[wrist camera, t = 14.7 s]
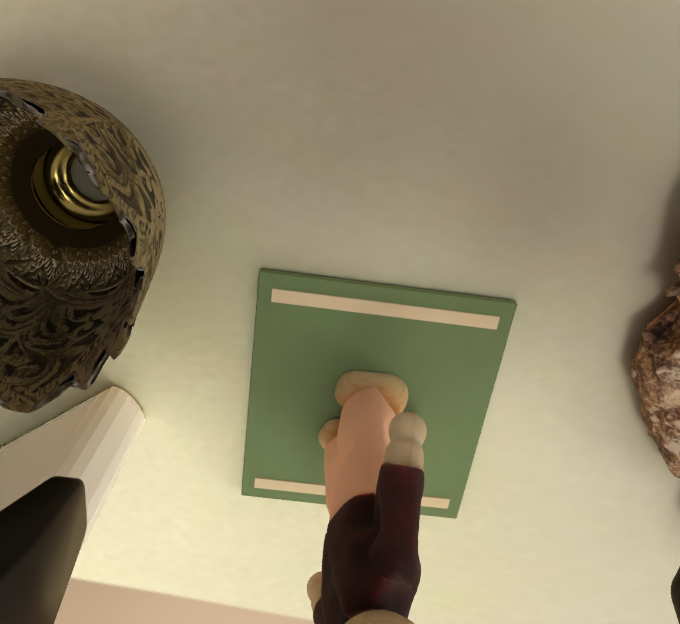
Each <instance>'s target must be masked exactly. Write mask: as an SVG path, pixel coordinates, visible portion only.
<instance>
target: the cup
mask: <svg viewBox="0 0 680 624" xmlns="http://www.w3.org/2000/svg"><path fill="white" fill-rule="evenodd" d="M75 156H76V157H77V158H78V160H79V161H80V163H81V164H82V165H83V166H84V168H85V170H86V172H87V174H88V175H89V177H90V179H91V180H92V182H93V183H94V185H95V186H96V187H97V188H98V189H99V190H100V191H101V192H102V193H103V194H104V195H105V196H106V197H107V198H108V200H104V201H94V200H90V199H88V198H86V197H84V196H83V195H81V194H80V193H79V192H78V191H77V190H76V189H75V187H74V186H73V184H72V182H71V179H70V175H69V168H70V164H71V161H72V160H73V158H74V157H75ZM165 218H166V217H165V202H164V196H163V191H162V187H161V184H160V180H159V177H158V175H157V172H156V170H155V168H154V165H153V163H152V161H151V160H150V158H149V156H148V154H147V153H146V151H145V150H144V148H143V147H142V145H141V144H140V142H139V141H138V140H137V139H136V137H135V136H134V135H133V134H132V133H131V132H130V130H129V129H128V128H127V127H126V126H124V125H123V124H122V123H121V122H120V121H119V120H118V119H117V118H116V117H114V116H113V115H112V114H111V113H109V112H108V111H107V110H105V109H104V108H102V107H100V106H99V105H97V104H96V103H94V102H92V101H90V100H88V99H86V98H84V97H82V96H80V95H77V94H75V93H72V92H70V91H67V90H65V89H62V88H58V87H55V86H51V85H47V84H43V83H38V82H32V81H25V80H18V79H8V78H0V405H1V406H2V407H3V408H5V409H8V410H12V411H16V412H24V413H29V412H33V411H35V410H37V409H39V408H41V407H42V406H44V405H46V404H47V403H49V402H50V401H52V400H53V399H55V398H57V397H58V396H60V395H61V394H62V393H63V392H64V391H65V390H66V389H67V388H69V387H70V386H72V385H73V384H74V383H75V382H76V383H77V385H76V386H75V385H73V386H72V387H74V388H79V389H81V390H86V389H88V388H89V387H90V386H91V385H92V384H93V383H94V381H95V379H96V378H97V376H98V374H99V372H100V370H101V368H102V367H103V365H104V363H105V362H106V360H107V359H108V357H109V356H111V357H112V359H113V360H115V359H116V358H117V357H118V356H119V354H120V353H121V352H122V350H123V349H124V347H125V345H126V344H127V342H128V340H129V337H130V335H131V330H132V326H134V323H135V320H136V316H137V314H138V311H139V309H140V307H141V304H142V302H143V300H144V297H145V295H146V292H147V290H148V288H149V285H150V283H151V280H152V278H153V275H154V273H155V270H156V267H157V264H158V261H159V258H160V254H161V251H162V246H163V241H164V234H165Z"/></svg>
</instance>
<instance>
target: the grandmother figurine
mask: <svg viewBox="0 0 680 624" xmlns="http://www.w3.org/2000/svg"><path fill="white" fill-rule="evenodd" d="M335 398H336V400H337V402H338V403H339V404H340V405H341V406H343V408H342V411H341V417H340V418H334V419H331V420H329V421H327V422H326V423H325V424H324V425H323V426H322V428H321V429H320V431H319V434H318V441H319V443H320V445H321V446H322V448H324V449H325V452H324V472H325V492H326V504H327V508H328V511H329V514H330V520H329V524H328V528H327V533H326V535H325V540H324V548H323V559H322V572H317V573H315V574H314V575H313V576H312V577H311V578H310V579H309V581H308V584H307V593H308V597H309V598H310V600H311V606H312V609H313V619H314V623H315V624H414V623H413V622H412V621H410V620H409V619H408V614H409V611H410V608H411V604H412V602H413V599H414V596H415V594H416V592H417V588H418V585H419V582H420V576H421V565H420V561H419V556H418V532H419V518H420V508H421V500H422V496H423V491H424V481H425V476H424V470H423V464H424V453H423V449H422V444H423V442H424V441H425V438H426V433H427V428H426V424H425V422H424V421H423V419H422V418H421V417H420V416H419V415H417V414H416V413H413V412H403V410H404V409H405V407H406V404H407V400H408V389H407V386H406V384H405V382H404V381H403V380H402V379H400V378H399V377H397V376H395V375H392V374H386V373H377V372H367V371H349V372H346V373H345V374H343V375H341V377H340V378H339V379H338V381H337V384H336V387H335Z"/></svg>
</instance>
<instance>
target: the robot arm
mask: <svg viewBox="0 0 680 624" xmlns="http://www.w3.org/2000/svg"><path fill="white" fill-rule="evenodd" d="M86 528H87V512H86V497H85V485H84V483H83V481H82V480H81V479H79V478H72V477H63V476H54V477H51V478H49V479H47V480H46V481H44V482H43V483H41V484H40V485H38V486H37V487H35V488H34V489H32V490H31V491H29V492H28V493H26V494H25V495H23V496H22V497H20V498H19V499H17V500H16V501H14V502H13V503H11V504H10V505H8V506H7V507H5V508H4V509H3V510H1V511H0V624H54V621H55V618H56V615H57V613H58V609H59V607H60V604H61V602H62V599H63V596H64V593H65V590H66V588H67V585H68V582H69V579H70V576H71V574H72V571H73V568H74V565H75V562H76V560H77V557H78V554H79V551H80V548H81V546H82V543H83V540H84V537H85V533H86ZM671 598H672V602H673V605H674V609H675V612H676V615H677V618H678V621H679V624H680V567H679V569H678V571H677V573H676V575H675V577H674V579H673V581H672V585H671Z"/></svg>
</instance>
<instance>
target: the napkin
mask: <svg viewBox="0 0 680 624" xmlns="http://www.w3.org/2000/svg"><path fill="white" fill-rule="evenodd" d="M516 306H517V303H516V301H513V300H505V299H497V298H489V297H481V296H473V295H465V294H457V293H449V292H441V291H434V290H426V289H418V288H410V287H402V286H394V285H386V284H378V283H370V282H362V281H354V280H346V279H338V278H330V277H323V276H315V275H307V274H299V273H291V272H283V271H275V270H267V269H260V271H259V281H258V293H257V306H256V318H255V331H254V343H253V356H252V368H251V381H250V393H249V406H248V418H247V431H246V443H245V456H244V469H243V481H242V495H245V496H254V497H263V498H273V499H282V500H291V501H300V502H309V503H319V504H326V492H325V472H324V452H325V449H324V448H322V446H321V445H320V443H319V441H318V434H319V431H320V429H321V428H322V426H323V425H324V424H325V423H326V422H327V421H329V420H331V419H334V418H340V417H341V411H342V408H343V406H341V405H340V404H339V403H338V402H337V400H336V398H335V387H336V384H337V381H338V379H339V378H340V377H341V375H343V374H345V373H346V372H349V371H367V372H377V373H386V374H392V375H395V376H397V377H399V378H400V379H402V380H403V381H404V382H405V384H406V386H407V389H408V400H407V404H406V407H405V409H404V410H403V412H413V413H416V414H417V415H419V416H420V417H421V418H422V419H423V421H424V422H425V424H426V428H427V433H426V438H425V441H424V442H423V444H422V449H423V453H424V464H423V470H424V476H425V481H424V491H423V496H422V500H421V508H420V515H429V516H438V517H447V518H457V514H458V511H459V507H460V504H461V500H462V497H463V493H464V489H465V486H466V482H467V479H468V475H469V472H470V468H471V465H472V461H473V458H474V454H475V451H476V447H477V444H478V440H479V437H480V433H481V430H482V426H483V423H484V419H485V415H486V412H487V408H488V405H489V401H490V398H491V394H492V391H493V387H494V384H495V380H496V377H497V373H498V370H499V366H500V363H501V359H502V356H503V352H504V349H505V345H506V342H507V338H508V334H509V331H510V327H511V324H512V320H513V317H514V313H515V310H516Z"/></svg>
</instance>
